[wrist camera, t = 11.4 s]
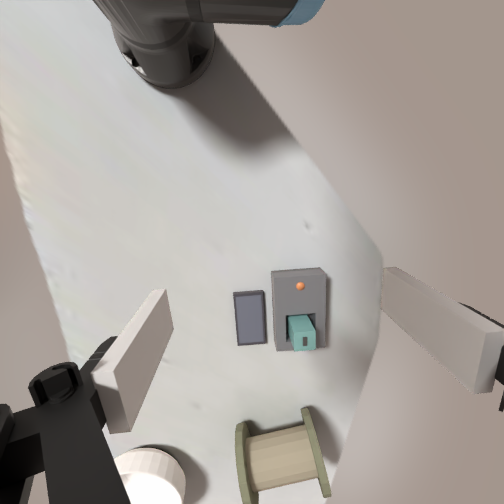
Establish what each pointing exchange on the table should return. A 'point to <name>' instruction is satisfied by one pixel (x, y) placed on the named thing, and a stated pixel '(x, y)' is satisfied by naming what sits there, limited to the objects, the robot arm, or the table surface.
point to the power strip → (298, 302)
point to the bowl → (151, 477)
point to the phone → (249, 317)
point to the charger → (301, 332)
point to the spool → (278, 459)
